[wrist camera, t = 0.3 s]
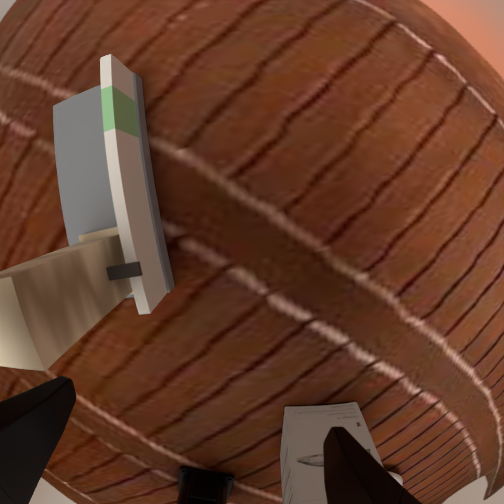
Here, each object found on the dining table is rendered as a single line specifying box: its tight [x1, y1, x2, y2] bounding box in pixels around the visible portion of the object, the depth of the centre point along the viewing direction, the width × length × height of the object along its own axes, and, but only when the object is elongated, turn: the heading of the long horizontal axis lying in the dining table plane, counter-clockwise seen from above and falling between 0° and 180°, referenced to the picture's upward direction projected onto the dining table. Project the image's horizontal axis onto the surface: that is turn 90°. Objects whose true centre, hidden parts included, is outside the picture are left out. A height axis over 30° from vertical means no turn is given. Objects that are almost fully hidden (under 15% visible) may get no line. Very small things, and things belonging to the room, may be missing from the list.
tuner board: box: [53, 54, 175, 314], centre depth 19 cm, size 17×8×6 cm, turn 10°
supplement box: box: [280, 402, 384, 504], centre depth 20 cm, size 7×7×13 cm
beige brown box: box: [0, 226, 143, 371], centre depth 15 cm, size 5×6×12 cm
